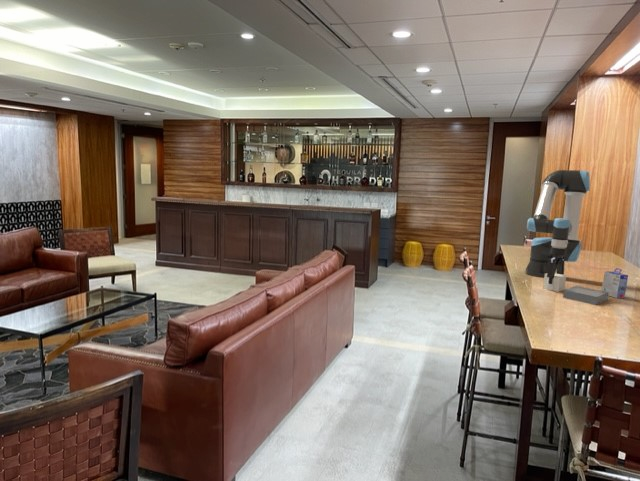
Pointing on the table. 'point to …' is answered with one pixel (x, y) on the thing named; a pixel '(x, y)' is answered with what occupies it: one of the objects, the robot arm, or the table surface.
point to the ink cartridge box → (615, 283)
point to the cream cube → (556, 282)
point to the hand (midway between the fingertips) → (553, 288)
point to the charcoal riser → (585, 295)
